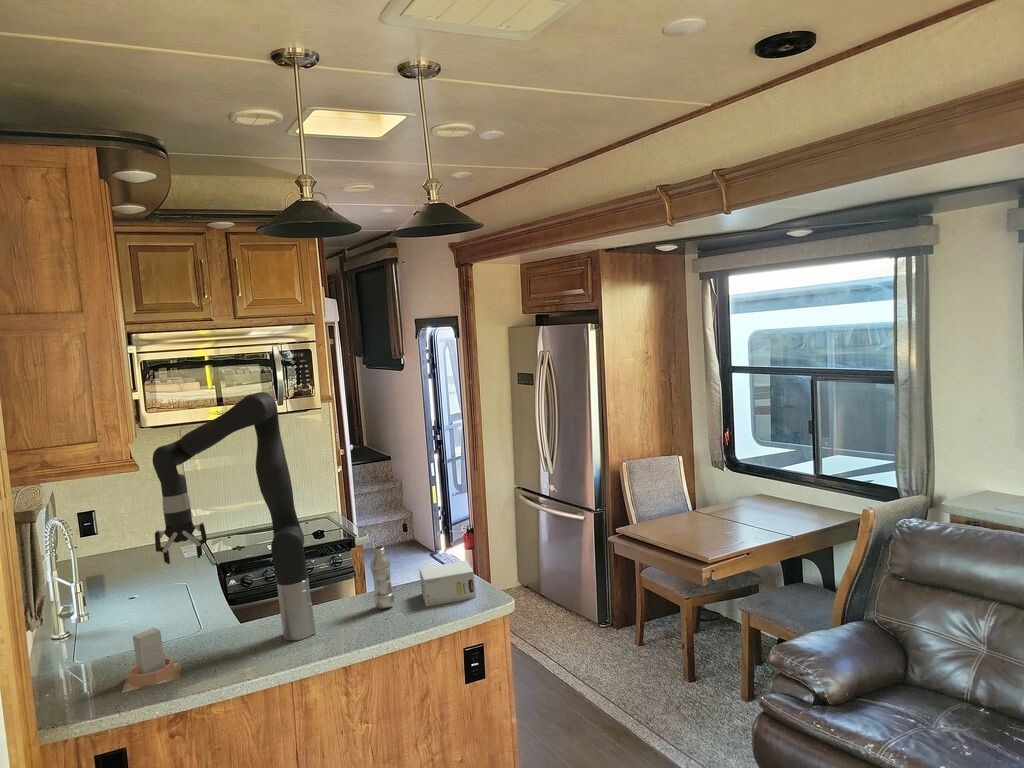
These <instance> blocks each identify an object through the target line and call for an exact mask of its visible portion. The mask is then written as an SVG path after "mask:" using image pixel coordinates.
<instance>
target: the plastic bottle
mask: <svg viewBox="0 0 1024 768" xmlns="http://www.w3.org/2000/svg"><path fill="white" fill-rule="evenodd" d="M385 553H386V550H385V546H381V545H380V546H375V547H373V548H372V555H373V557H372V558H371V560H370V562H369V569H370V571H371V574H372V575H371V576H372V580H373V588H374V595H373V603H374V605H375V607H376V608H377V609H379V610H380V609H383V610H384V609H389V608H390V607H393V606H394V604H395V602H396V601H395V599H396V598H395V594H394V591H393V587H392V582H391V560H390V559H389V558H388V556H387V555H386V554H385Z"/></svg>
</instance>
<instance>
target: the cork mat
mask: <svg viewBox="0 0 1024 768" xmlns="http://www.w3.org/2000/svg"><path fill="white" fill-rule="evenodd" d="M174 666H175V671H174V674H173V675H171V676H170V677H169V678H168V679H165V680H163V681H161V682H159V683H156V684H152V685H148V686H137V687H135V686H133V685H131V684H130V681H129V673H128V674H127V675H126V677H125V681H124V683H123V687H122V691H121V693H127V692H131V691H134V690H139V689H143V688H147V687H152V686H154V685H160V684H163V683H166V682H167V683H168V682H171V681H176V680H179V679H180V675H181V668H182V661H179V662H174Z"/></svg>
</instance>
